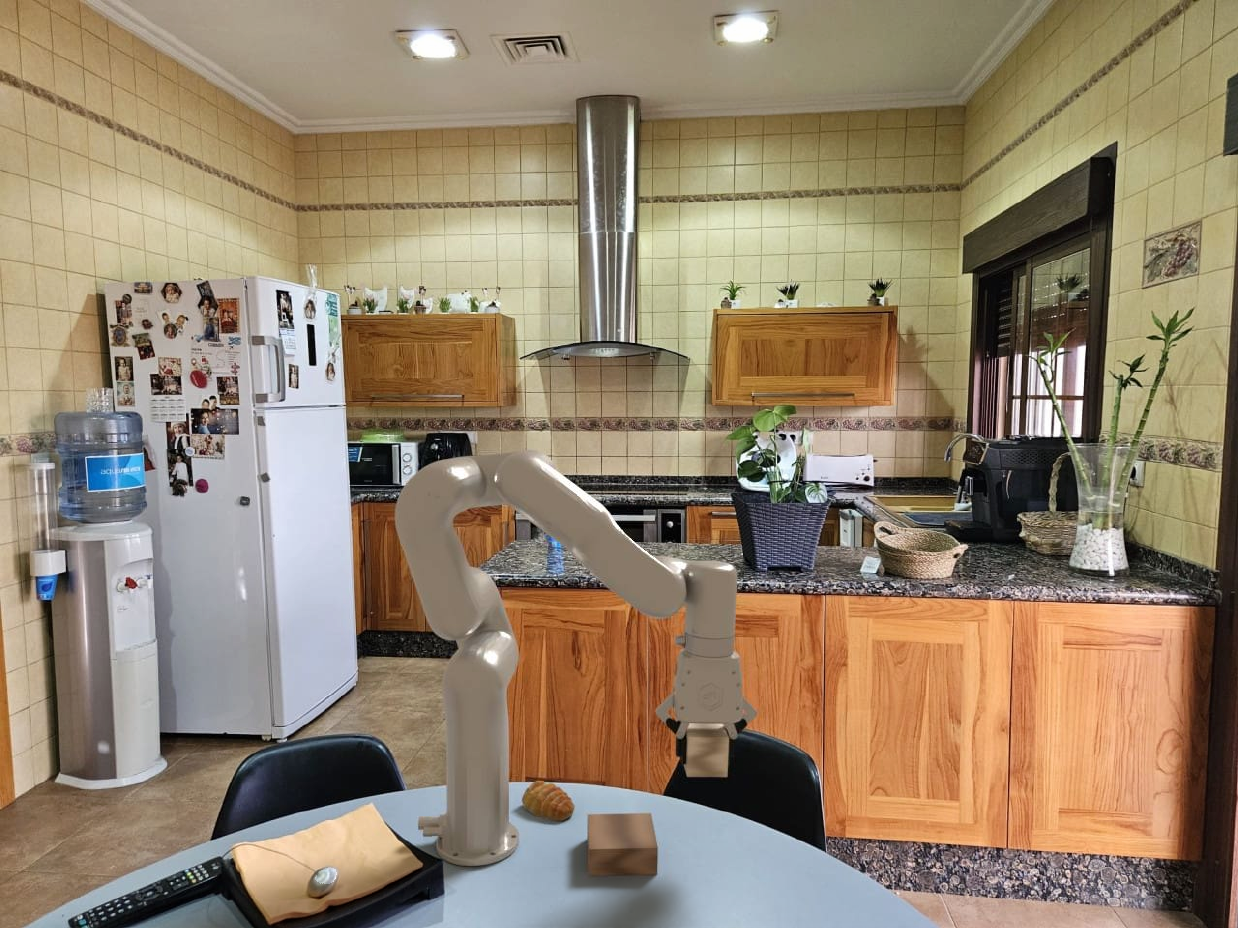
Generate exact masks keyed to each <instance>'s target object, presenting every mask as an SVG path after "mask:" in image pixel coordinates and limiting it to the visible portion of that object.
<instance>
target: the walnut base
mask: <svg viewBox="0 0 1238 928" xmlns="http://www.w3.org/2000/svg"><path fill="white" fill-rule="evenodd" d="M654 827H655V826H654V822H653V817H652V813H651V812H635V813H593V814H592V813H589V814H588V813H587V860H588V861H587V862H588V863H587V865H588V876H589V877H593V876H595V877H599V876H600V877H601V876H634V875H635V876H637V875H639V876H640V875H644V876H645V875H658V861H659V860H658V858H659V857H658V855H659V847H658V842H657V838H656V833H655V828H654Z"/></svg>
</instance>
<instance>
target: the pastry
mask: <svg viewBox="0 0 1238 928" xmlns="http://www.w3.org/2000/svg"><path fill="white" fill-rule="evenodd" d="M521 798H522V799H521V803H522V805H523V806H524V808H525V810H526V811H527V812H528V811H529V812H530V813H531V814H532V815H534V814H535V816H536V815H537V817H540V818H542V817H543V819H546V818H547V819H546V820H549V819H550V821H559V822H561V821H565V820H566V819H569V818H570V817H572V815H573V813H574V811H575V807H576V805H575V804H574V803H573V801H572V798H571V797H570V796H568V793H567V792H566V791H564V790H563V789H562V788H561V787H560V786H559V785H558V786H557V785H556V784H554V783H552V782H549V783H546V782H545V781H544V780H536V781H533V782H532V783H531V784H530V785H529V786H528V787H527V788H526V789H525V791H524V794H523V796H522V797H521Z"/></svg>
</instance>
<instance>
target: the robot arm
mask: <svg viewBox="0 0 1238 928" xmlns="http://www.w3.org/2000/svg"><path fill="white" fill-rule="evenodd" d="M396 500H397V501H396V503H395V504H396V505H395V509H394V523H395V530H396V532H397V533H396V534H397V536H398V539H399V542H400V545H401V547H402V550H403V552H404V556H405V559H406V561H407V564H408V566H409V570H410V574H411V577H412V580H413V583H414V585H415V589H416V592H417V594H418V597H419V598H418V599H419V600H420V603H421V607H422V610H423V612H424V615H425V619H426V621H427V623H428V625H429V627H430V629H431V631H433V633H434V634H435V635H437V636H438V637H439V638H441V639H443V640H447V641H455V642H456V644H457V648H458V649H457V650H456V651H455V652H454V653H453V654H452V656H451V657H450V658H449V661H448V662H447V664H446V666H445V669H444V672H443V676H442V681H441V692H442V701H443V709H444V716H445V717H444V718H445V719H444V721H445V753H446V754H445V757H446V758H445V761H446V764H445V767H446V772H445V773H446V775H445V777H446V779H445V780H446V787H445V788H446V789H445V791H446V793H445V794H446V811H445V814H444V813H443V814H439V816H419V817H418V821H417V829H418V831H422V837H423V838H427V837H428V838H429V837H430V838H431V837H437V838H436V840H435V841H436V843H435V844H436V846H435V848H436V852H437V853H438V855H439V857H440V858H441V859H443V860H444V861H447V862H448V863H451V864H453V865H457V866H461V867H462V866H463V867H479V866H486V865H491V864H494V863H497V862H500V861H502V860H504V859H506V858H507V857H509V856H511V855H512V854H513V853H514V851H515V850H517V848H518V846H519V842H520V838H519V837H520V833H519V831H518V829H517V827H516V826H515V825H514V824H512V823H511V822H510V744H509V743H510V741H509V739H510V727H509V726H510V725H509V724H510V723H509V713H508V712H509V711H508V701H507V699H508V698H507V697H508V696H507V693H508V686H509V684H510V682H511V681H512V678H513V676H514V674H515V673H516V671H517V668H518V665H519V658H520V654H519V653H520V651H519V646H518V643H517V639H516V636H515V633H514V631H513V628H512V625H511V622H510V619H509V617H508V613H507V611H506V607H505V605H504V603H503V600H502V596H501V594H500V590H499V589H498V587H497V585H496V583H495V581H494V580H493V579H492V577H491V576H490V575H489V574H488V573H486V571H485V570H482V569H480V568H478V567H474V566H470V563H469V562H468V558H467V556H466V551H465V549H464V545H463V544H462V541H461V539H460V537H459V536H458V533H457V531H456V529H455V527H454V518H455V517H456V516H457V515H459V514H460V513H463V512H465V511H467V510H469V509H474V508H484V507H494V506H496V507H497V506H503V505H508V506H509V507H510V508H511V509H513V510H514V511H516V512H517V513H518V514H519V515H521V516H522V517H524V518H525V519H527V521H529V522H530V523H532V524H533V525H535V526H536V527H537V528H539V529H540V530H542V531H543V533H545V534H546V535H548V536H549V537H550V538H552V539H553V540H554V541H555V542H557V543H558V544H560V545H561V546H562V547H564V548H565V549H566V550H568V552H569V553H570V554H572V555H571V556H573V557H574V558H575V559H576V560H577V561H578V562H579V563H580V564H581V565H582V566H584V567H585V568H586V570H588V571H589V572H590V573H591V574H592V575H593V576H595V578H596V579H597V580H599V582H600V583H602V584H603V585H604V586H605V587H606V588H607V589H609V590H610V591H611V592H612V593H614V594H615V595H616V596H618V597H619V598H620V599H622V600H623V601H624V602H626V603H627V604H629V605H630V606H631V607H633V609H635V610H637V611H638V612H640V613H641V614H643V615H645V616H647V617H649V618H652V619H656V620H661V619H662V620H664V619H668V618H671V617H673V616H675V615H677V613H679V611H681V609H682V608H683V606H684V608H685V609H684V610H685V611H684V612H685V613H684V615H685V616H684V629H683V633H682V634H680V635H675V636H674V641H673V642H674V645H675V646H679V647H682V649H680V650H679V652H678V656H677V661H676V665H675V672H674V680H673V688H672V692H671V693H670V694H669V695H668V696H667V697H666V698H665V699H664V700H662V702H661V703H660V704H659V705H657V707H656V708H655V711H654V712H655V714H656V717H658V718H659V719H660V720H661V721H662V723H664V724H665V725H666V726H667V728H668V729H670V731H671V732H672V733H673V734H674V735H675V757H678V758H679V760H680V764H681V765H682V766H684V765H685V764H686V753H687V738H686V730H687V728H688V726H689V724H690V723H711V724H723V725H724V728H725V730H726V732H727V734H728V736H729V753H728V766H730V765H731V758H734V757H735V743H736V741H735V740H736V739H737V738H738V735H739V734H740V733H741V732H743V730H744V729H746V728H747V727H748V724H749V723H751V722H752V721H754V719H756V718H757V717H758V712H757V710H756V709H755V707H754V706H752V704H751V703H750V702H749V701H748V700H747V699H746V698H745V697H744V695H743V673H742V665H741V658H740V655H739V653H738V652H736V651H735V640H736V636H735V635H736V619H737V617H736V616H737V615H736V614H737V596H738V595H737V593H738V592H737V591H738V590H737V589H738V572H737V569H736V567H735V566H734V565H733V564H730V563H728V562H725V561H722V560H721V561H720V560H706V559H705V560H698V561H695V560H687V559H682V558H676V557H672V556H667V555H666V556H665V555H656V556H655V555H654V556H653V555H651V554H650V553H648V552H647V551H645V550H644V549H643V548H642V547H641V546H640V545H638V544H637V543H636V542H635V541H633V540H632V538H630V536H628V535H627V534H626V533H625V532H624V531H623V529H621V527H620V526H619V525H618V524H617V522H616V521H615V519H614V518H613V516H612V514H611V512H610V511H608V509H607V508H606V507H605V506H604V505H603V504H602V503H601V502H600V501H598V500H597V499H595V498H594V497H593V496H591V495H590V494H589V493H588V492H586V491H584V490H583V489H582V488H581V487H579V486H578V485H577V484H575V483H573V482H572V480H570V479H569V478H568V477H566V476H564V474H563V473H561V472H559V471H558V470H557V467H556V465H555V463H554V462H553V460H552V459H551V458H550V457H549V456H548V455H546V454H545V453H544V452H542V451H540V450H539V451H538V450H536V449H535V450H534V449H523V450H517V451H510V452H509V451H508V452H501V453H491V454H490V453H489V454H480V455H479V454H478V455H466V456H459V457H458V456H457V457H451V458H447V459H442V460H436V461H434V462H432V463H429V464H427V465H425V466H424V467H422V468H421V469H420V470H418V471H417V472H416V473H415V474H414V475H413V476H412V477H410V479H409V480H408V481H407V482H406V483H405V485H404V486H403V487H402V490H401V491H400V494H399V495H398V498H397V499H396ZM672 708H673V711H674V716H675V718H676V719H674V717H673V716H672V715H670V714H669V711H670V710H671V709H672Z"/></svg>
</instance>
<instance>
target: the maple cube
mask: <svg viewBox="0 0 1238 928" xmlns="http://www.w3.org/2000/svg"><path fill="white" fill-rule="evenodd" d="M725 729H726V727H725V725H724V724H711V723H690V724H689V726H688V728H687V730H686V738H687V753H686V764H685V765H683V767H684V771H685V774H686V777H687V778H728V773H729V771H728V769H729V765H728V753H729V736H728V734H727V732H726V730H725Z"/></svg>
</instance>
